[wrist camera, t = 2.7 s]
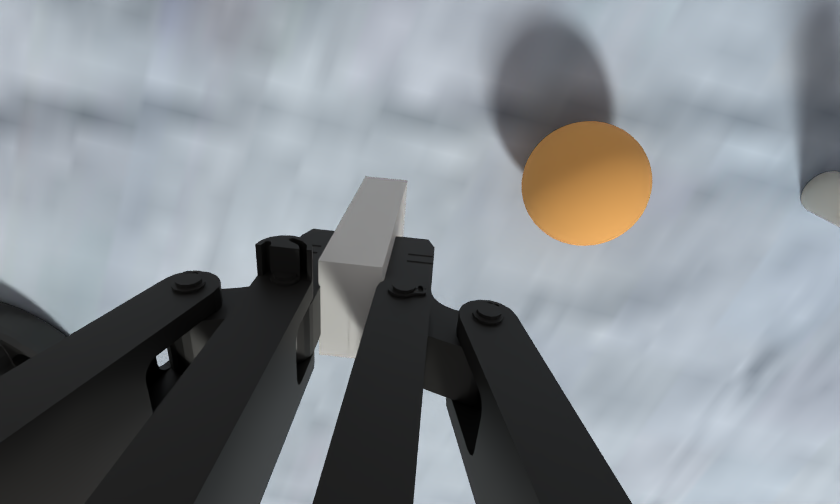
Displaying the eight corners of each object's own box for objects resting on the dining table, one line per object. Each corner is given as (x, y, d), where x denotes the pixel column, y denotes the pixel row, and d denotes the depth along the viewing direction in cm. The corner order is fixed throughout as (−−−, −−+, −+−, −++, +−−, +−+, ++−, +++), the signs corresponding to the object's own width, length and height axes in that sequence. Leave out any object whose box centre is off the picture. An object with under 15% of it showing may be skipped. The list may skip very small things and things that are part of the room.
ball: (505, 213, 27) (521, 260, 22) (525, 105, 25) (547, 129, 19) (609, 223, 27) (650, 273, 22) (640, 117, 25) (695, 143, 19)
